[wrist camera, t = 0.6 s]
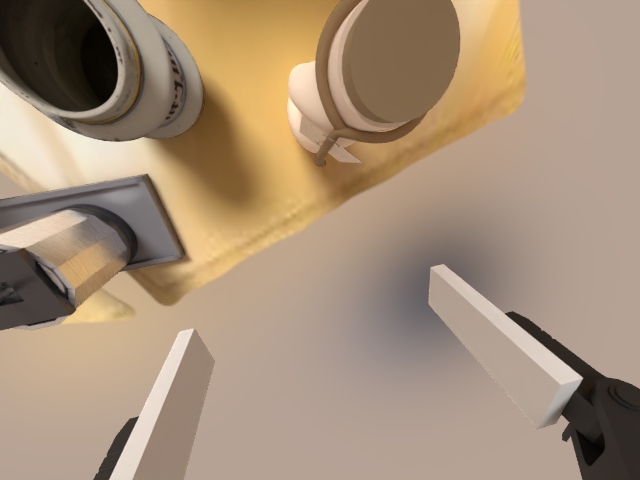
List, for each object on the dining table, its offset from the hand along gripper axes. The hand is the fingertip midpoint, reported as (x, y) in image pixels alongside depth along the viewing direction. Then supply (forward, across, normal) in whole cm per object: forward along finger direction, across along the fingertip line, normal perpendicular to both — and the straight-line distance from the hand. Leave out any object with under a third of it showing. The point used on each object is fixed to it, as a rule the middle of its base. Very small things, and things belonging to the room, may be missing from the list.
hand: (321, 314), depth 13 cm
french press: (+28, -33, -1) cm, 43 cm away
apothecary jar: (+30, -13, +17) cm, 37 cm away
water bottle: (+30, +6, +10) cm, 32 cm away
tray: (+29, -33, 0) cm, 44 cm away
